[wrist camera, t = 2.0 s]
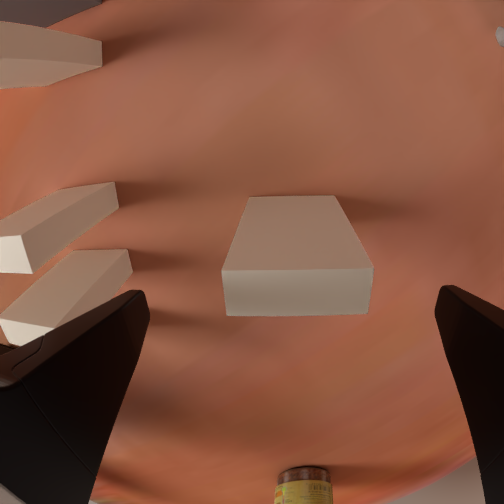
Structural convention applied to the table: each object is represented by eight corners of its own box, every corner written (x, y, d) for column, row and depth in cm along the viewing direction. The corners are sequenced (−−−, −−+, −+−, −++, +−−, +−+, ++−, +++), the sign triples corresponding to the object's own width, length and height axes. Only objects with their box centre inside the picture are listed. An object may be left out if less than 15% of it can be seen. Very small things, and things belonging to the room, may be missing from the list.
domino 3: (119, 208, 17) (32, 273, 10) (63, 213, 18) (-23, 271, 11) (114, 181, 17) (20, 235, 9) (58, 189, 17) (-33, 239, 10)
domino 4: (102, 66, 14) (-3, 58, 7) (45, 86, 14) (-56, 96, 7) (101, 41, 13) (-1, 21, 6) (44, 63, 14) (-56, 64, 6)
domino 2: (132, 272, 19) (67, 356, 12) (79, 271, 20) (9, 343, 12) (127, 249, 18) (53, 328, 11) (72, 250, 19) (-4, 317, 12)
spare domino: (333, 224, 17) (367, 313, 9) (251, 226, 17) (226, 315, 10) (334, 195, 16) (374, 268, 9) (249, 196, 16) (221, 270, 9)
